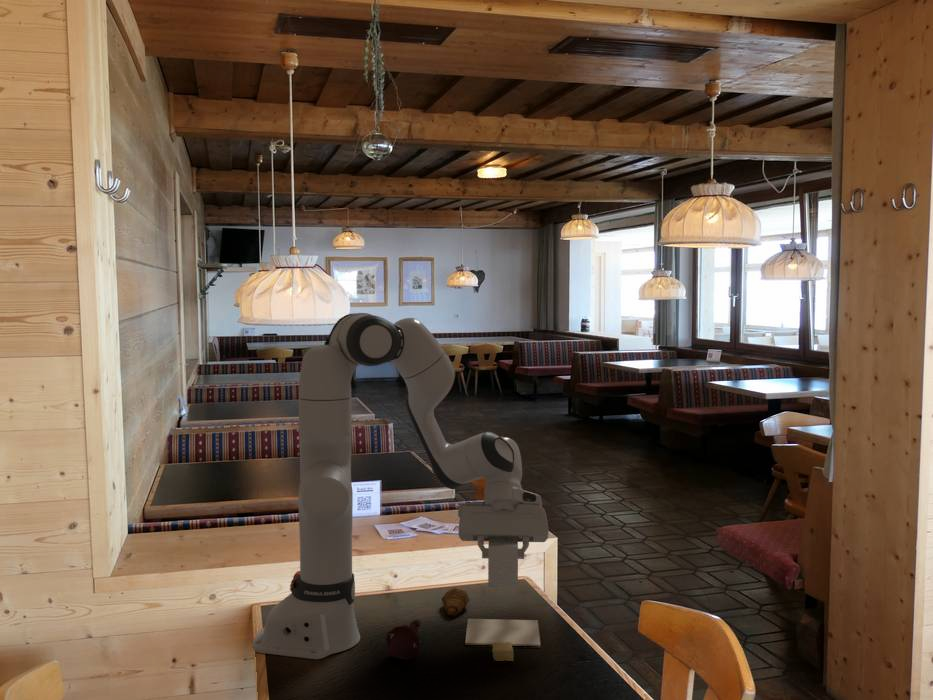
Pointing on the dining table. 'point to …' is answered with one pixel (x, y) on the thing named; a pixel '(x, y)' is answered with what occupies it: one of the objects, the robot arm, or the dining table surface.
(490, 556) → the cover
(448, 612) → the croissant
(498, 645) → the block
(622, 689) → the dining table surface
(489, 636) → the board
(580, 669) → the dining table surface
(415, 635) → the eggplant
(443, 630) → the dining table surface
